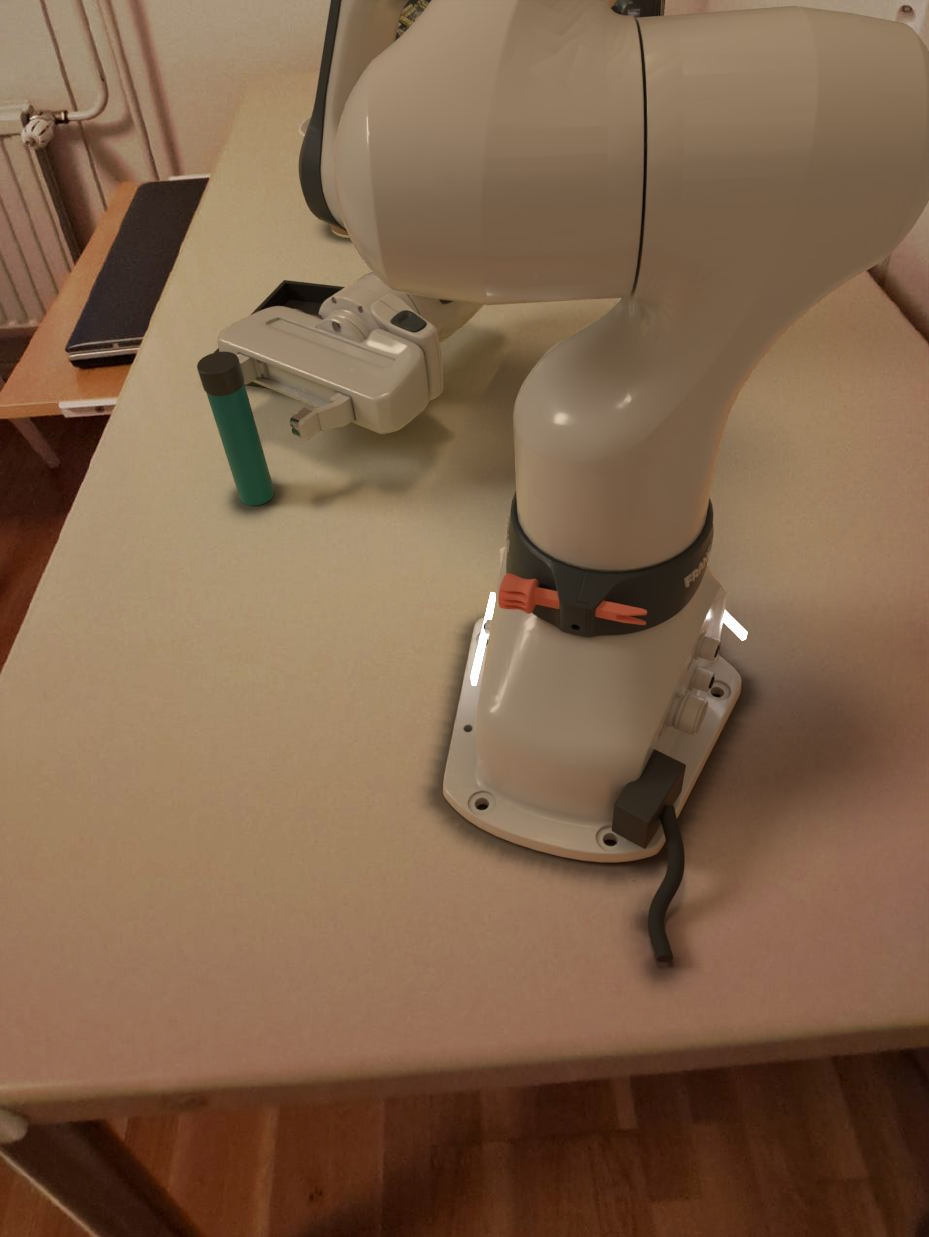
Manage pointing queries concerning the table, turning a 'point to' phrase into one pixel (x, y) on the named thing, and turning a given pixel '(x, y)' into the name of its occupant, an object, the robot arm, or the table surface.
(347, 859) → the table surface
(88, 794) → the table surface
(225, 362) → the marker
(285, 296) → the tray
